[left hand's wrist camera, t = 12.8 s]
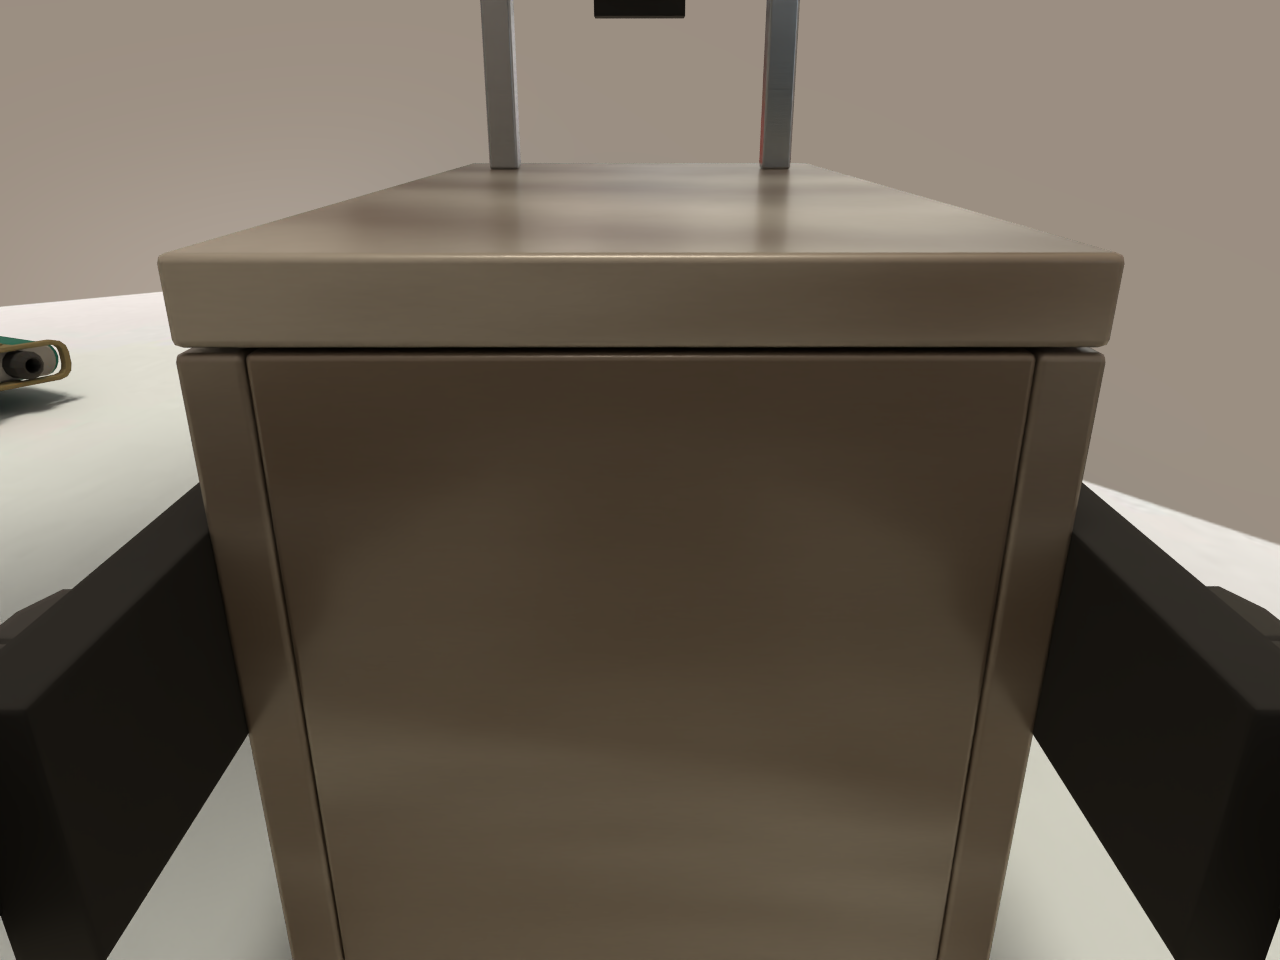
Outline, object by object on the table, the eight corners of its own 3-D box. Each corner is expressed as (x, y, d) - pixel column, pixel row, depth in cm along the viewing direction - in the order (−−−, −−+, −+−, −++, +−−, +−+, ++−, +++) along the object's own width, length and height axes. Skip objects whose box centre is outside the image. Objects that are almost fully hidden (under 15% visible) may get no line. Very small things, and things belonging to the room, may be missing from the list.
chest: (491, 541, 29) (468, 202, 25) (789, 541, 29) (811, 202, 25) (309, 1062, 13) (170, 354, 9) (971, 1061, 13) (1111, 354, 9)
